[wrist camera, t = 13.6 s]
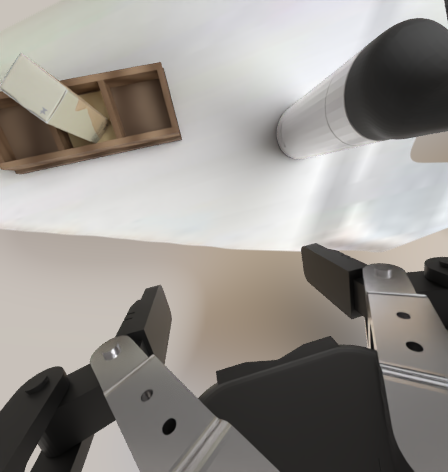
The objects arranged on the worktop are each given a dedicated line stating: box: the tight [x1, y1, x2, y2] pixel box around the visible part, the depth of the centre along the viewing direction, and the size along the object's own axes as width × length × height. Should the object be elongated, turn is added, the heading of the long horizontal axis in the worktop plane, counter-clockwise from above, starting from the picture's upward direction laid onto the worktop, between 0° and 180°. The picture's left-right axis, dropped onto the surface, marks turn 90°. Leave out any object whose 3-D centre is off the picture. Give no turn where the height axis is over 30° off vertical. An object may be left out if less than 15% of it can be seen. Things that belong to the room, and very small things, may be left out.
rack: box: [0, 62, 182, 174], centre depth 31 cm, size 26×10×4 cm, turn 103°
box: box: [0, 53, 111, 143], centre depth 26 cm, size 5×4×11 cm
